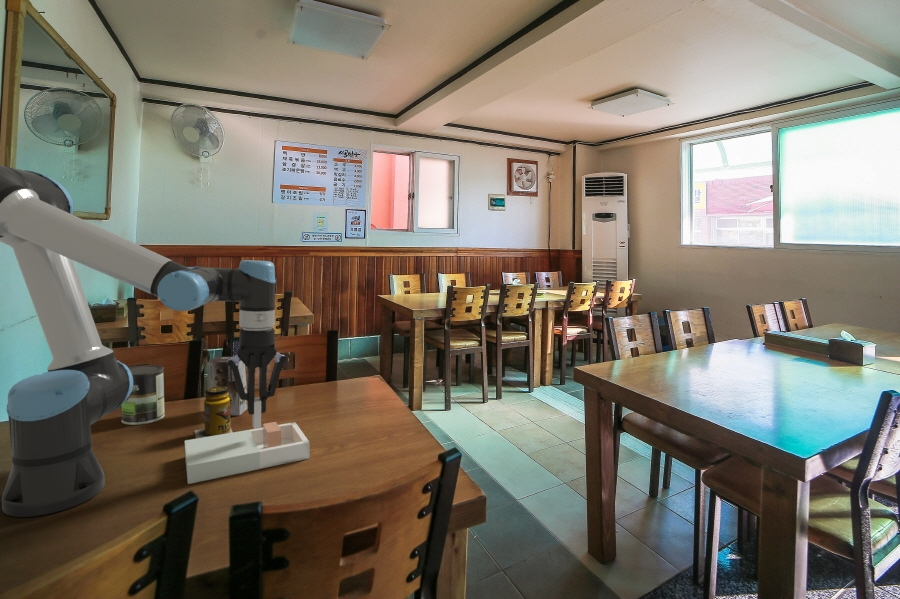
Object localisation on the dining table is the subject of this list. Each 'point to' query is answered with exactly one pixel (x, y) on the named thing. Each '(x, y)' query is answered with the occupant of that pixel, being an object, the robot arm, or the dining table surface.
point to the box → (283, 446)
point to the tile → (271, 435)
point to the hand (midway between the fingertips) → (256, 426)
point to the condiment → (216, 413)
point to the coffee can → (144, 396)
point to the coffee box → (227, 381)
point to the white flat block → (221, 456)
